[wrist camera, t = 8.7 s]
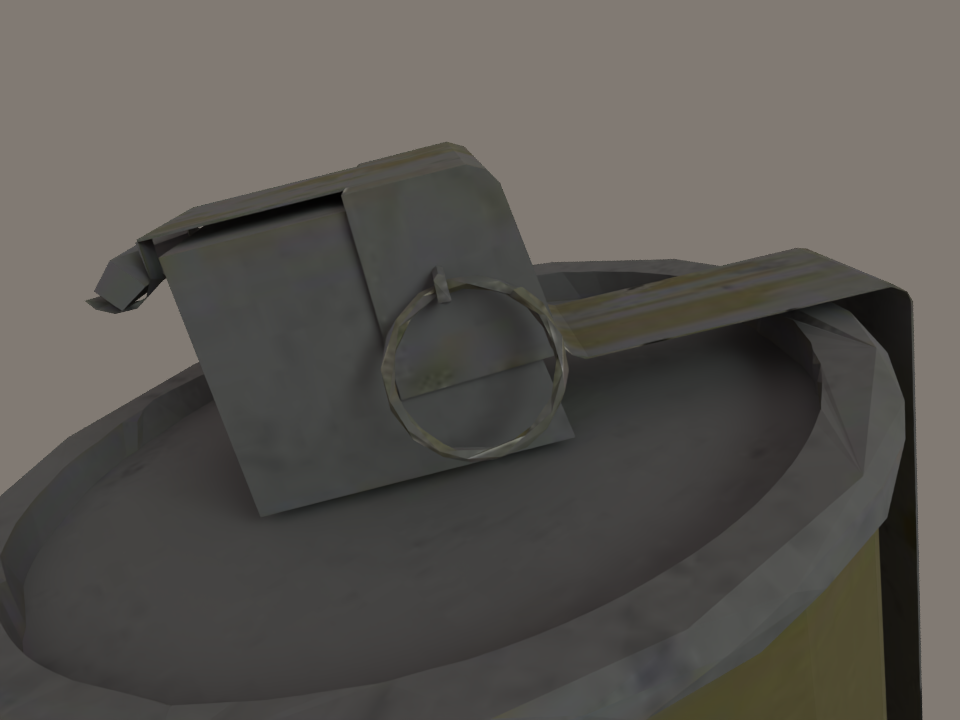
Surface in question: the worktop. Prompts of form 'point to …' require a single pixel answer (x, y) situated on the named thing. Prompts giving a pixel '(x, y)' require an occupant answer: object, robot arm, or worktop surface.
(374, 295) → the canister
